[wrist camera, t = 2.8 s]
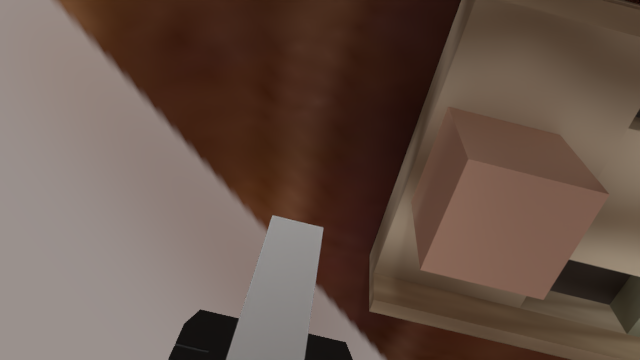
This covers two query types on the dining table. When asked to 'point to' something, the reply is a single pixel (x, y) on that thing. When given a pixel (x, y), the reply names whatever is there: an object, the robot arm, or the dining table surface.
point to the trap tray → (548, 115)
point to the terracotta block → (502, 204)
